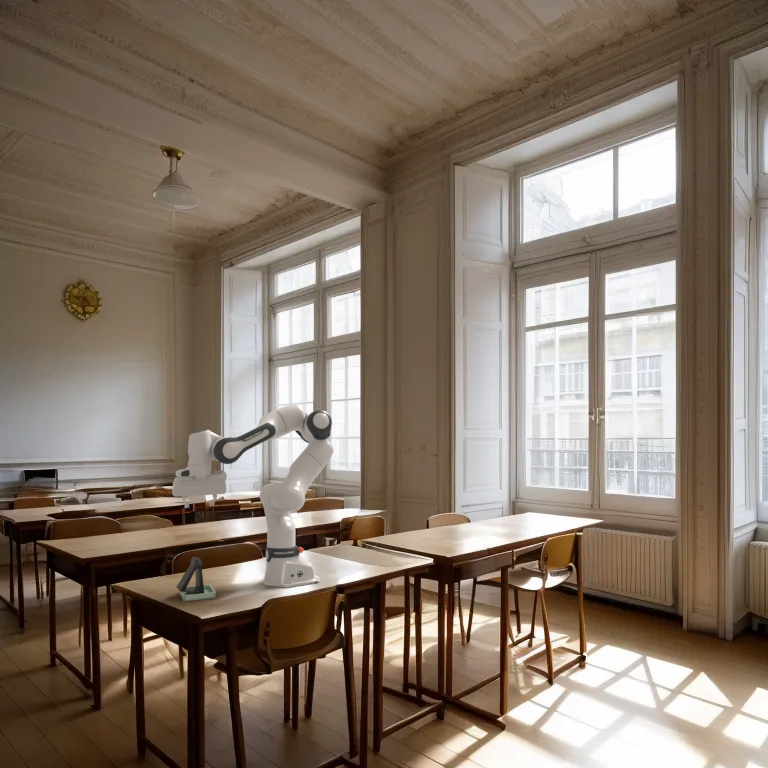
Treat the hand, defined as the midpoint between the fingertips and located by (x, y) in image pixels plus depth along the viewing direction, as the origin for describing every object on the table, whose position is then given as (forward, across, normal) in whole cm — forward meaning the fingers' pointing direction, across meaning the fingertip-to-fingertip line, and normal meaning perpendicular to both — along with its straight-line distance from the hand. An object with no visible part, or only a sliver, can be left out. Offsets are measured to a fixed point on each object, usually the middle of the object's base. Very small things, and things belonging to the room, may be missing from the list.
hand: (199, 506), depth 249 cm
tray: (+30, +3, +13) cm, 33 cm away
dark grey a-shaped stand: (+29, +5, +11) cm, 32 cm away
